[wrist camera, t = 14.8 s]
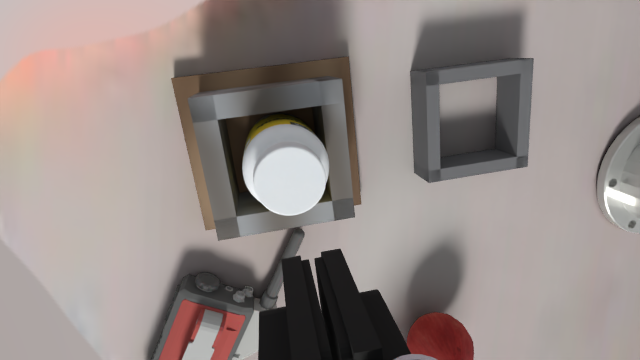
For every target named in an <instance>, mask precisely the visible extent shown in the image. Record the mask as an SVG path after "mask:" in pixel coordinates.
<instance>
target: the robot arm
mask: <svg viewBox="0 0 640 360" xmlns="http://www.w3.org/2000/svg"><path fill="white" fill-rule="evenodd" d="M597 197H598V202H599V206H600V208H601V210H602V212H603V214H604V215H605V217H606V218H607V219H608V220H609V221H610V222H611V223H612V224H614V225H615V226H617V227H619V228H621V229H623V230H625V231H628V232H631V233H636V234H640V117H638V118H637V119H636V120H634V121H633V122H632V123H630V124H629V125H628V126H627V127H626V128H625V129H624V130H623V131H622V132H621V133H620V134H619V135H618V136H617V137H616V139H615V140H614V142H613V143H612V145H611V146H610V147H609V149H608V151H607V153H606V155H605V157H604V159H603V161H602V164H601V167H600V170H599V174H598V181H597ZM281 262H282V272H283V282H284V292H285V302H286V307H281V308H275V309H270V310H264V311H260V312H259V348H258V360H437V359H435V358H433V357H430V356H426V355H422V354H411V352H410V350H409V348H408V346H407V344H406V342H405V340H404V338H403V337H402V335H401V333H400V331H399V329H398V327H397V325H396V323H395V321H394V319H393V317H392V315H391V313H390V311H389V309H388V307H387V305H386V303H385V302H384V300H383V298H382V296H381V294H380V292H379V291H378V290H371V291H366V292H361V293H359V291H358V289H357V287H356V284H355V282H354V280H353V277H352V275H351V272H350V270H349V268H348V265H347V263H346V261H345V258H344V256H343V254H342V251H341V249H335V250H330V251H324V252H321V257H319V258H315V267H316V274H317V282H318V289H319V297H320V304H321V309H320V304H319V300H318V296H317V292H316V288H315V283H314V279H313V275H312V271H311V267H310V263H309V259H308V260H302V261H301V257H300V256H295V257H289V258H284V259H281ZM321 312H322V313H321Z"/></svg>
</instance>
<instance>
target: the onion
mask: <svg viewBox="0 0 640 360" xmlns="http://www.w3.org/2000/svg"><path fill="white" fill-rule="evenodd" d="M407 346H408V348H409V350H410V352H411V354H422V355H426V356H430V357H433V358H435V359H437V360H473V357H474V347H473V341H472V339H471V337H470V335H469V333H468V332H467V330H466V329H465V327H464V326H463V324H462V323H460V322H459V321H458V320H456V319H455V318H453V317H452V316H450V315H448V314H444V313H438V312H433V313H429V314H425V315H423V316H421V317H419V318H418V319H417V320H416V321H415V323H414V324H413V325H412V326H411V328H410V331H409V333H408V336H407Z"/></svg>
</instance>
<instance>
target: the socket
mask: <svg viewBox="0 0 640 360" xmlns="http://www.w3.org/2000/svg"><path fill="white" fill-rule="evenodd" d="M171 80H172V84H173V88H174V93H175V97H176V102H177V106H178V110H179V115H180V119H181V124H182V128H183V132H184V137H185V141H186V146H187V150H188V154H189V159H190V163H191V168H192V172H193V176H194V181H195V185H196V189H197V194H198V198H199V203H200V207H201V211H202V216H203V220H204V225H205V229H206V230H211V229H216V232H217V237H218V241H219V240H225V239H231V238H236V237H242V236H248V235H254V234H260V233H266V232H271V231H277V230H283V229H289V228H295V227H301V226H306V225H312V224H318V223H324V222H330V221H335V220H341V219H347V218H353V217H355V212H354V205H360V204H361V195H360V184H359V172H358V160H357V149H356V137H355V126H354V114H353V103H352V91H351V80H350V68H349V57H341V58H332V59H324V60H316V61H308V62H300V63H291V64H283V65H275V66H267V67H258V68H250V69H242V70H234V71H226V72H217V73H209V74H201V75H193V76H184V77H176V78H171ZM274 113H287V114H291V115H294V116H296V117H298V118H300V119H301V120H303V121H304V122H305V123H306V124H307V125H308V126H309V127H310V128H311V130H312V131H313V132H314V133H315V135H316V136H317V137H318V138H319V139H320V141H321V142H322V144H323V145H324V147H325V150H326V152H327V155H328V159H329V175H328V179H327V182H326V186H325V190H324V193H323V195H322V197H321V199H320V200H319V201H318V203H317V204H316V205H315V206H313V207H312V208H311V209H310V210H308V211H306V212H304V213H301V214H298V215H291V216H287V215H280V214H277V213H274V212H272V211H270V210H269V209H267V208H266V207H265V206H264V205H263V204H262V203H261V202H259V201H258V200H257V199H256V198H255V197H254V196H253V195H252V194H251V193H250V191H249V190H248V188H247V186H246V184H245V181H244V177H243V171H242V162H243V155H244V149H245V144H246V139H247V136H248V134H249V132H250V130H251V128H252V127H253V126H254V124H255V123H256V122H258V121H259V120H260V119H261V118H263V117H265V116H267V115H270V114H274Z"/></svg>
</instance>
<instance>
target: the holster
mask: <svg viewBox="0 0 640 360" xmlns="http://www.w3.org/2000/svg"><path fill="white" fill-rule="evenodd" d="M533 60H534V58H514V59H502V60H494V61H486V62H478V63H471V64H463V65H455V66H447V67H440V68H432V69H424V70H416V71H410V75H411V100H412V126H413V152H414V173H416V174H417V175H418V176H420V177H421V178H423V179H424V180H426V181H427V182H428V183H431V182H437V181H443V180H449V179H455V178H461V177H467V176H473V175H479V174H485V173H492V172H498V171H504V170H510V169H516V168H522V167H527V166H528V148H529V131H530V113H531V95H532V78H533ZM491 77H497V106H496V141H495V149H491V150H485V151H479V152H472V153H466V154H460V155H453V156H447V157H440V112H439V84H446V83H453V82H461V81H468V80H476V79H483V78H491Z"/></svg>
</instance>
